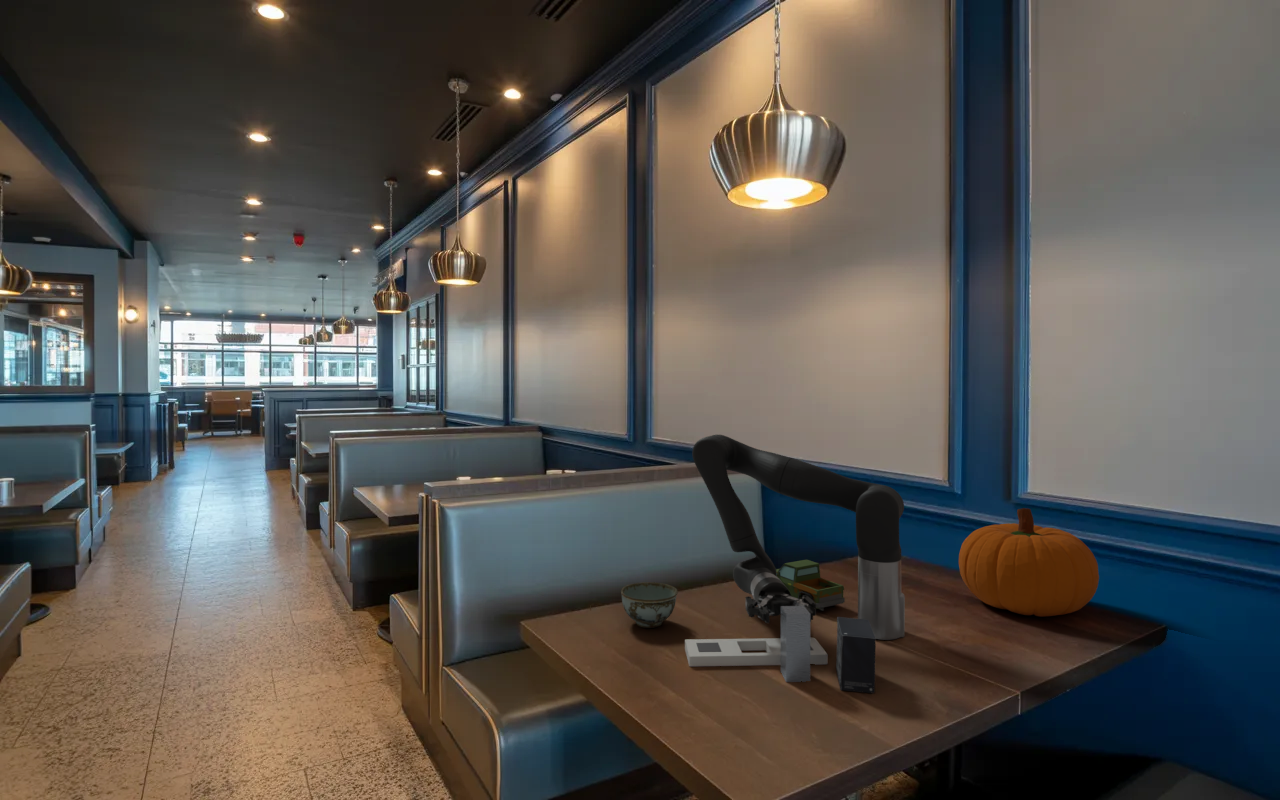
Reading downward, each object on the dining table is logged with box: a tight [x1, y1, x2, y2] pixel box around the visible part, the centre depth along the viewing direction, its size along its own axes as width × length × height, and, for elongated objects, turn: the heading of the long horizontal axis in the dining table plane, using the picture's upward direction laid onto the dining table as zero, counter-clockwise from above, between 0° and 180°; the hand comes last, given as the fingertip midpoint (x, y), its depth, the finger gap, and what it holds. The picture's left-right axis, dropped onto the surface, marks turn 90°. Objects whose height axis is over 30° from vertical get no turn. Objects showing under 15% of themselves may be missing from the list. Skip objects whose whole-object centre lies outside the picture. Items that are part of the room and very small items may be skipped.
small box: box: [835, 616, 877, 694], centre depth 128 cm, size 11×6×10 cm, turn 168°
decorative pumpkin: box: [958, 507, 1100, 618], centre depth 171 cm, size 31×30×25 cm
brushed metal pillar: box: [780, 606, 811, 683], centre depth 130 cm, size 5×5×13 cm
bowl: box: [620, 581, 679, 629], centre depth 159 cm, size 14×13×8 cm
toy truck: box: [776, 559, 846, 611], centre depth 176 cm, size 11×21×10 cm, turn 30°
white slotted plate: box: [684, 637, 829, 667], centre depth 140 cm, size 28×9×2 cm, turn 92°
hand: (788, 617), depth 136 cm, fingers open, 8 cm apart
